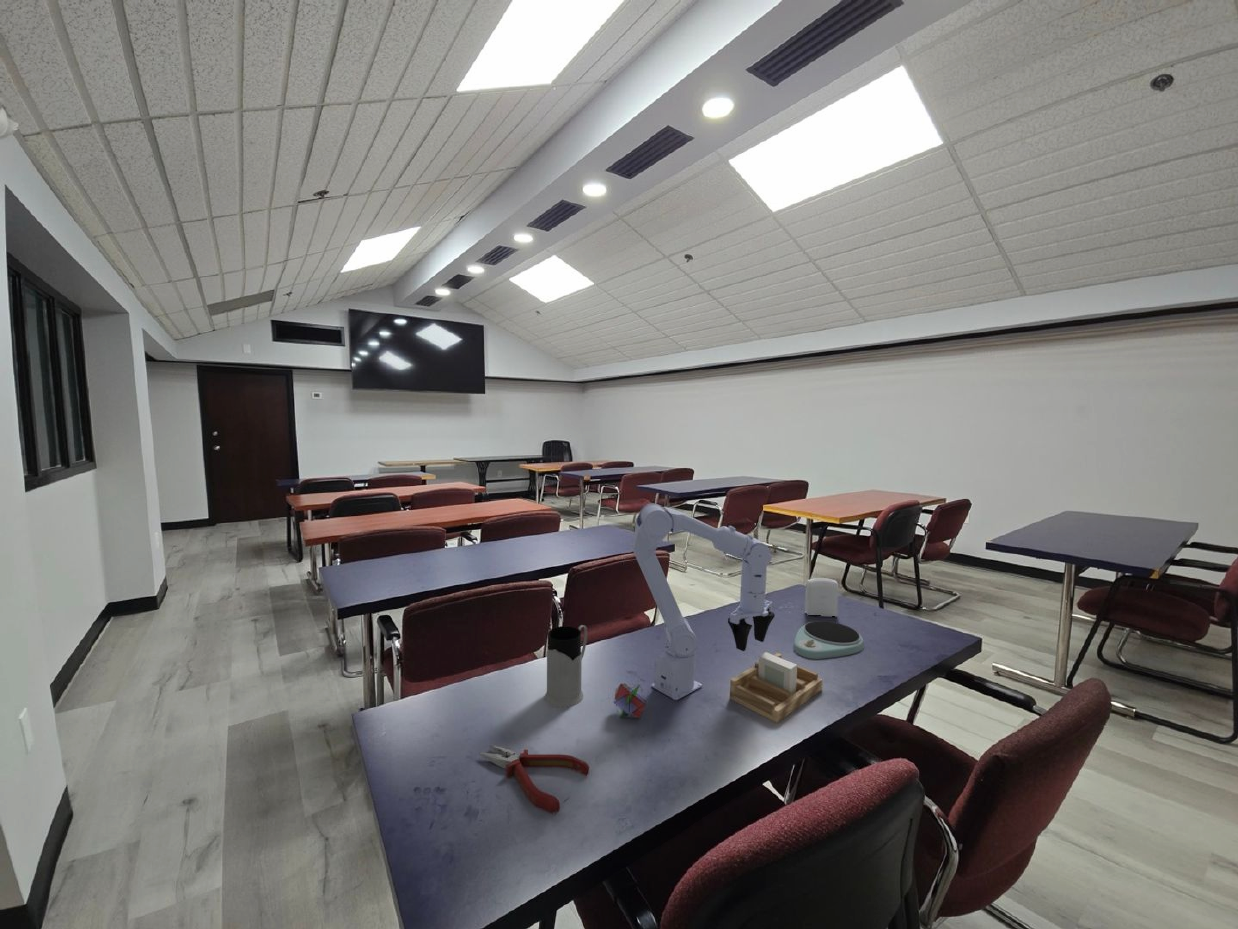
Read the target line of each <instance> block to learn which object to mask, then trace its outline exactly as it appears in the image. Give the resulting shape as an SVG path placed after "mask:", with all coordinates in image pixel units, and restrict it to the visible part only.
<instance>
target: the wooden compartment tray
mask: <svg viewBox="0 0 1238 929" xmlns="http://www.w3.org/2000/svg"><path fill="white" fill-rule="evenodd" d="M773 655H774V656H777V657H779V658H782V654H781V653H778V652H776V653H775V654H773ZM796 665H797V679H796V693H795V694H793V695H792V696H791V692H790V691H788V690H785V689H783V688H781V687H779V686H777V685H774V684H772V683H770V682H768V681H766V680H764V679H761V678H759V677H758V672H759V661H756V662H754V666H752V667H750V668H748V669H747V670H745V671H743V672H741V673H740V674H737V675H736V676H734V677H732V678H731V679H730V684H729V686H730V687H729V699H730V700H732V701H734V702H736V703H739V704H740V705H742V706H744V707H746V708H748V709H749V710H752V711H754V712H755V713H757V714H759V715H761V716H763V717H765V718H767V719H769V720H770V721H772V722H774V723H779V722H780V721H781V720H783V719H785V718H786V717H787V716H788V715H790V714H791V713H793V712H794V711H795V710H796V709H798V708H799V707H801V706H802V705H804V703H806V702H808V701H809V700H810V699H812V698H813V697H814V696H815V695H817V694H818V693H820V692H821V691H822V690H823V682H824V681H823V679H822V678H820V677H818V676H819V673H818V672H815V671H813V670H811V669H808V668H806V667H803V666H800V665H798V664H796Z"/></svg>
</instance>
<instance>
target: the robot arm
mask: <svg viewBox="0 0 1238 929" xmlns="http://www.w3.org/2000/svg"><path fill="white" fill-rule="evenodd" d="M663 507H664V508H663ZM663 507H662V506H661V505H660V504H657V503H648V504H645V505H644V506H643V507H642V508H641V509H640V511H639V513H638V515H637V517H636V518H635V528H634V534H633V539H632V540H633V541H632V552H633V554H634V557H635V558H636V561H637V563H638V565H639V567H640V569H641V572H642V575H643V577H644V579H645V581H646V583H647V586H648V588H649V591H650V592H651V594H652V598H653V599H654V601H655V604H656V606H657V608H658V611H659V613H660V615H661V618H662V620H663V622H664V624H663V630H664V634H665V636H666V637H667V640H666V643H665V645H664V650H663V652H662V654H660V656H658V657H657V658H656V659H655V661H654V680H653V683H652V684H651V687H652V688H654V689H655V690H657V691H659V692H660V693H662V694H664V695H666V696H668V697H669V698H671V699H672V700H674V701H678V700H680V699H681V698H684V697H685V696H688V695H689V694H690V693H693V692H694V691H696V690H698V689H700V688H702V687H703V684H702V683H700V682H699V681H696V680H695V674H696V673H695V671H696V670H695V669H696V668H695V667H696V651H697V649H698V646H699V641H698V637H697V636H696V634H695V633H694V631H693V630H692V627H691V626H690V623H689V621H688V619H687V618H685V616H683V613H682V612H681V610H680V607H679V605H678V603H677V601H676V598H675V596H674V593H673V591H672V589H671V586H670V584H669V582H668V579H667V577H666V575H665V573H664V571H663V569H662V566H661V564H660V561H659V559H658V557H657V555H656V550H657V549H658V546H659V544H660V542H662V541H663V539H665V538H666V537H667V536H668V534H670V532H671V534H676V533H679V532H683V531H684V532H687V533H690V535H691V534H692V535H694V536H697V537H700V538H702V539H705V540H708V541H711V542H712V545H713V548H714V549H716V550H718V551H720V552H722V553H724V554H727V555H729V556H732V557H734V558H736V559H739V560H742V561H741V574H740V576H741V577H740V595H739V605H738V606H737V608H736V609H735V610H734V611H733V612H731V613H730V614H729V617H728V618H727V623H728V626H729V627H730V629H731V631H732V635H733V638H734V642H735V647H736V649H737V650H740V651H742V652H746V650H747V646H748V638H749V634H750V632H751V629H752V627H753V636H754V640H756V641H758V642H760V643H763V642H765V640H766V639H765V638H766V635H767V633H768V629H769V626H770V625H771V622H772V621H773V620H774V619H775V613H774V612H773V611H772V610H773V601H770V600H767V599H766V590H767V588H766V587H767V567H768V565H769V564H770V563H771V562H772V558H773V555H772V554H771V550H770V548H769V546H767V545H766V544H765V543H764V542H762V541H761V540H759V539H757V538H755V536H753V535H752V534H747V535H746V534H744V533H742V532H739V531H737V530H736V529H737V528H735V526H732V525H728V527H727V526H725V525H723V526H720V527H714V526H711V525H710V524H707V523H705V522H703V521H701V520H699V519H696V518H695V517H693V516H691V515H688V514H686V513H684V512H682V511H679V510H677V509H673V508H670V507H667V506H663ZM664 509H665V510H664ZM749 618H752V621H753V624H749V623H747V621H746V619H749Z"/></svg>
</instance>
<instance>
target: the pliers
mask: <svg viewBox="0 0 1238 929" xmlns="http://www.w3.org/2000/svg"><path fill="white" fill-rule="evenodd" d="M489 747H490V748H491V749H492V750H493V751H494V752H495V753H489V752H487V753H486V752H479V753H478V754H479V756H481V757H483V758H484V759H486V760H488V761H489V762H491V763H493V764H495V765H497V767H500V768H503V769H505V776H506V777H507V779H509V778H511V777H515V779H516V781H517V782H518V785H519V786H520V788H521V789H522V791H523V792H524V795H525V796H526V798H527V799H528V800H529V802H530V803H531V804H533V806H535V807H537V808H539V809H541V810H544V811H547V812H549V813H552V814H555V813H557V812H559V811H560V808H561V803H560V801H559V799H558V798H557V797H555V796H553V795H552V794H549V793H546V792H544V791H542V790H540V789H539V788H538V787H537V786H536V785H535V783H534V782H533V781H532V779H531V778H530V776H529V774H528V773H527V771H526V770H525V768H563V769H564V768H565V769H569V770H571V771H572V770H573V771H575V772H577V773H579V774H581V775H584V776H586V777H587V776H588V775H589V773H590V766H589V764H588V763H587V762H586V761H584V760H582V759H579V758H578V757H575V756H572V755H569V754H561V753H560V754H559V753H558V754H554V753H553V754H552V753H551V754H544V753H543V754H540V753H539V754H534V753H533V754H532V753H531V754H529V750H528V749H524V750H523V752H522V753H520V754H516V752H514V751H513V750H511V749H508V748H504V747H501V746H500V747H499V746H496V745H492V744H490V745H489Z"/></svg>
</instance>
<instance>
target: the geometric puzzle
mask: <svg viewBox="0 0 1238 929" xmlns="http://www.w3.org/2000/svg"><path fill="white" fill-rule="evenodd" d="M631 685H635V684H631ZM633 688H634V689H633ZM639 689H641V692H643V690H642V689H643V688H641V684H637V685H635V686H633V687H629V685H628V684H627V683H620V684H619V685H618V686H617V687H616V688H615V690H614V691H615V693H614V698H613V702H612V703H613V704H614V706H615V707H617V708H616V713H617V715H619V711H618V708H619V709H621V710H622V711H621V713H620V716H618V719H623V718H625V717H626V715H625V714H627V719H629V717H632V718H633V719H636V720H640V718H641V715H642V713H643V710H644V708H645V706H646V704H647V703H646V701H647V700H646V699H645V696H641V695H640V694H638V693H637V692H638V691H639ZM632 715H633V716H632Z"/></svg>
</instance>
